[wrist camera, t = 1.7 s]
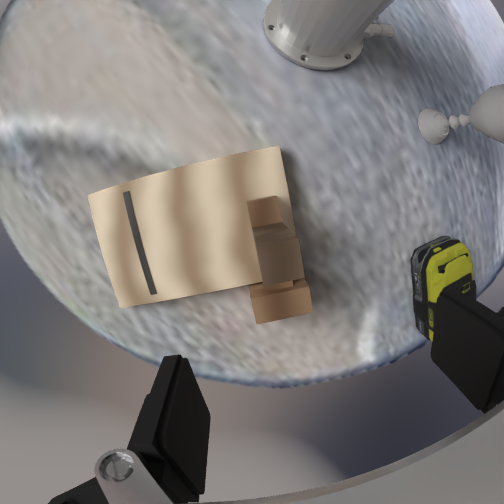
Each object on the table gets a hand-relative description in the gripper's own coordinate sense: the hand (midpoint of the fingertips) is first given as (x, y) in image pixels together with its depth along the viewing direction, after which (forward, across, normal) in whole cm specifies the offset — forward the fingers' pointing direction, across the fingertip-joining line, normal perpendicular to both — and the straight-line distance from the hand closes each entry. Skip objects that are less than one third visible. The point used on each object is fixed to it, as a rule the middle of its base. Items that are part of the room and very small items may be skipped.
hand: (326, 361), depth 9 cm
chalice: (+24, -25, -10) cm, 36 cm away
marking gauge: (+24, 0, +2) cm, 24 cm away
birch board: (+24, +8, -2) cm, 25 cm away
